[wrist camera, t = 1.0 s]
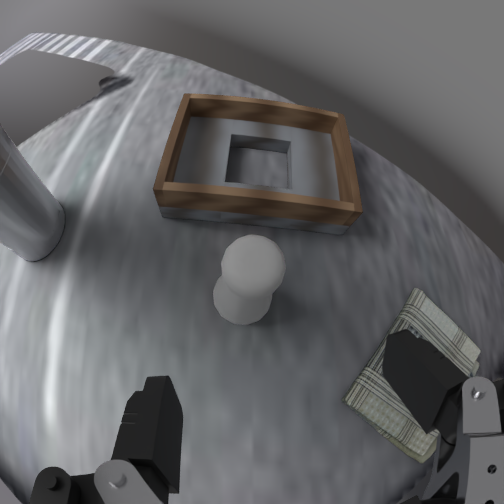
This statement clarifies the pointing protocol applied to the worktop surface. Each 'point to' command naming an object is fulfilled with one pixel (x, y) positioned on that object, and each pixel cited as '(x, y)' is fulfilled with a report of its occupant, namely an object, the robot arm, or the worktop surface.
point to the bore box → (265, 138)
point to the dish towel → (381, 393)
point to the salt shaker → (248, 279)
